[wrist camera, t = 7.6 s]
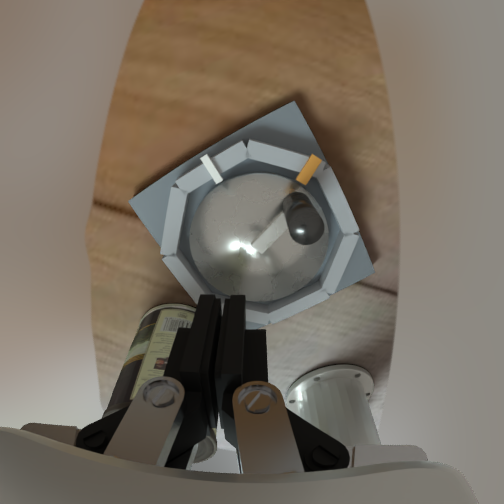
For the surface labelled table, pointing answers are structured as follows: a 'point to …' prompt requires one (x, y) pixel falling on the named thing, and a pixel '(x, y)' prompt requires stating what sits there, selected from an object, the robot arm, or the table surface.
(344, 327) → the table surface
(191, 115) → the table surface
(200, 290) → the panel
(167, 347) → the coffee can
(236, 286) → the dial
